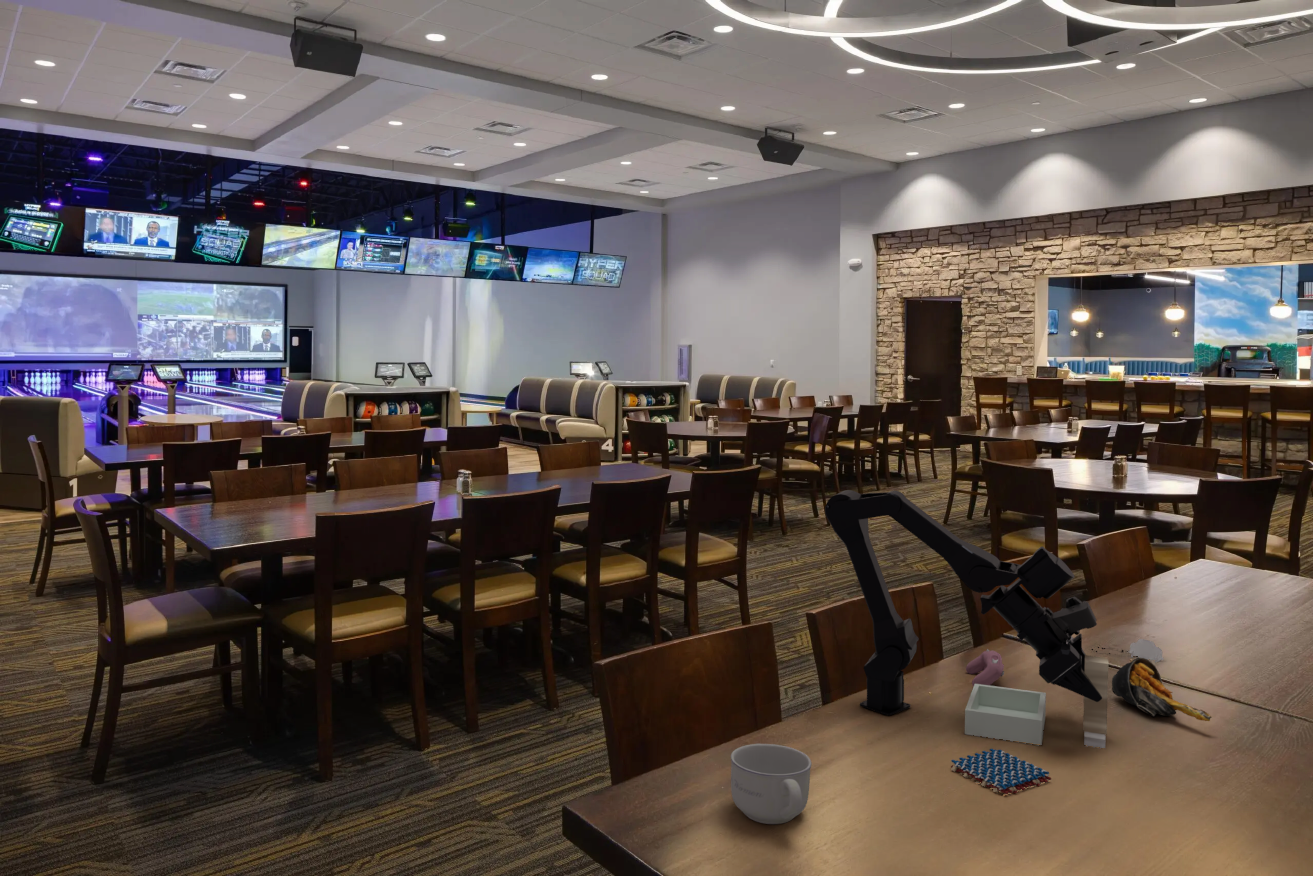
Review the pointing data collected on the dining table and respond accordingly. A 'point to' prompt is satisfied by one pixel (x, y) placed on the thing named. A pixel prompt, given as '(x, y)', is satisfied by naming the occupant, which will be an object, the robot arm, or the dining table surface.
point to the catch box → (1006, 714)
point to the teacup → (770, 782)
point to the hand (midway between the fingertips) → (1099, 690)
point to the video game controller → (986, 668)
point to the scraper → (1096, 710)
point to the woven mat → (1000, 771)
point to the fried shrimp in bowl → (1149, 690)
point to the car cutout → (1146, 650)
